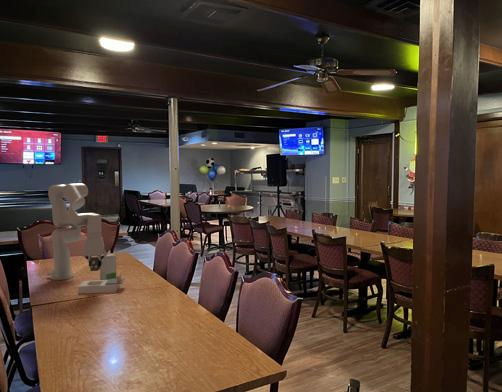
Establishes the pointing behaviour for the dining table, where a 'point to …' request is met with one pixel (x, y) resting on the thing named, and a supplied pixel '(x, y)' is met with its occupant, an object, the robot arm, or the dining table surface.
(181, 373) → the dining table surface
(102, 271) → the skincare box
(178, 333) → the dining table surface
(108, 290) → the socket block
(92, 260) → the plug
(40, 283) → the dining table surface
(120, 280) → the shutter
